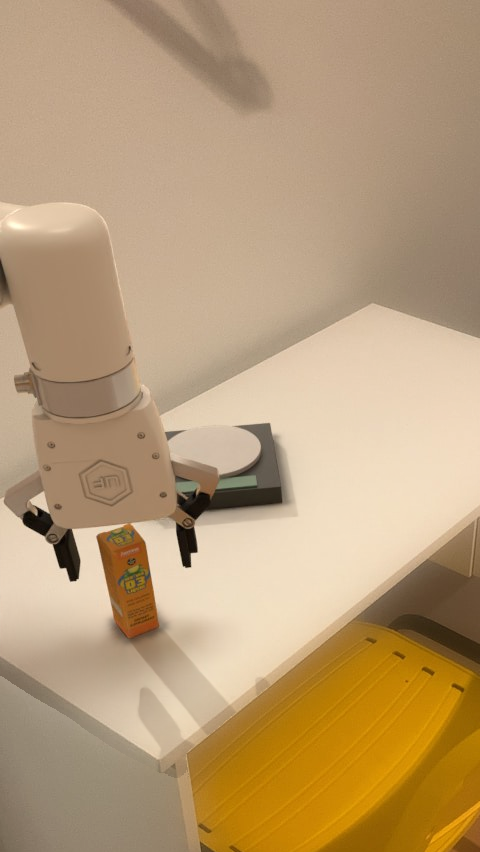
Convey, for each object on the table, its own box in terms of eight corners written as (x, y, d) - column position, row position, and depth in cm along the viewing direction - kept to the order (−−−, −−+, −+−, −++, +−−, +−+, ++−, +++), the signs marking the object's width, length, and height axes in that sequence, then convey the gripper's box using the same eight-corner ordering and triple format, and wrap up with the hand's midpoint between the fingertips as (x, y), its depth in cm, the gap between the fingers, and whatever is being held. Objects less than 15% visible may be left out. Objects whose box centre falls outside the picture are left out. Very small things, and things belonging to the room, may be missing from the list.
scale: (150, 515, 102) (146, 494, 100) (151, 448, 112) (148, 428, 110) (282, 502, 103) (280, 481, 101) (271, 437, 114) (269, 417, 112)
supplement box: (129, 641, 86) (108, 552, 80) (113, 621, 89) (92, 532, 82) (162, 628, 88) (145, 538, 81) (147, 608, 90) (129, 519, 83)
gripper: (-38, 419, 69) (26, 604, 80) (205, 394, 70) (233, 579, 82) (-23, 373, 74) (34, 552, 86) (201, 350, 76) (228, 529, 87)
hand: (131, 565), depth 84 cm, fingers open, 9 cm apart
